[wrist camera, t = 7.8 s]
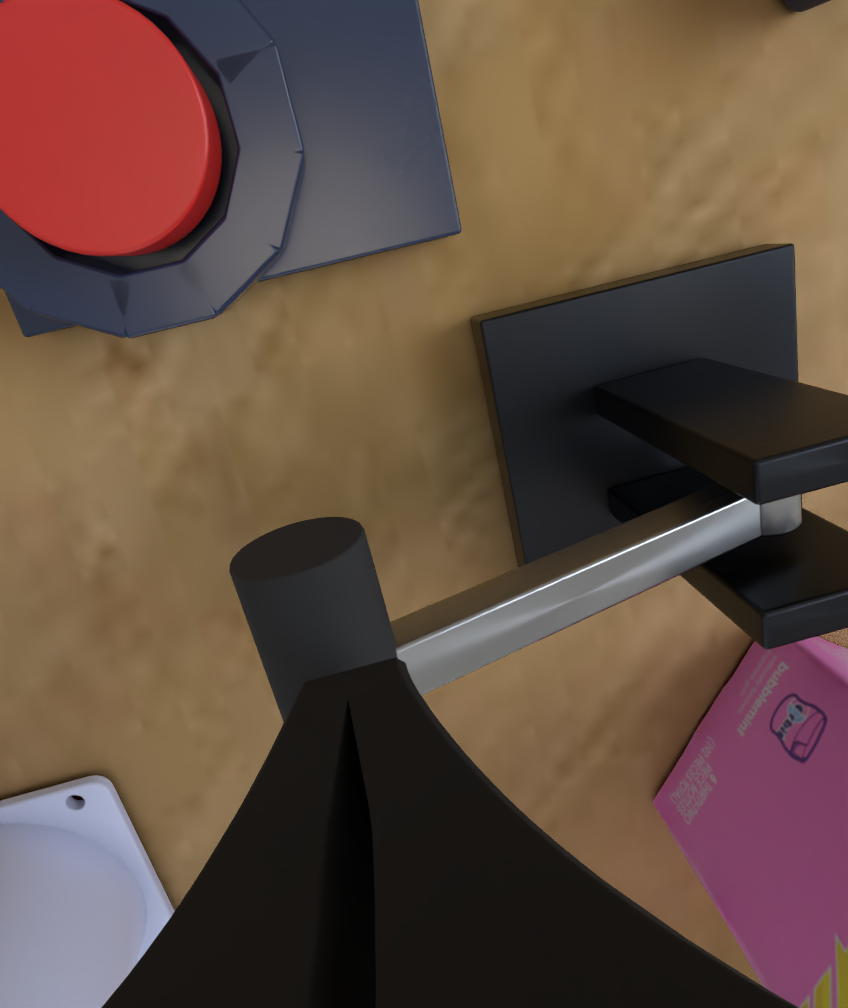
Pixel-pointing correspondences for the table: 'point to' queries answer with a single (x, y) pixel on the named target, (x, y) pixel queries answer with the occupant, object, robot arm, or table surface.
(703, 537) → the lever
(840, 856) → the gum box
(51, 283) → the control block
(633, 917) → the robot arm
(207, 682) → the table surface
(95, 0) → the button
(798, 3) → the calculator
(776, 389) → the bracket
